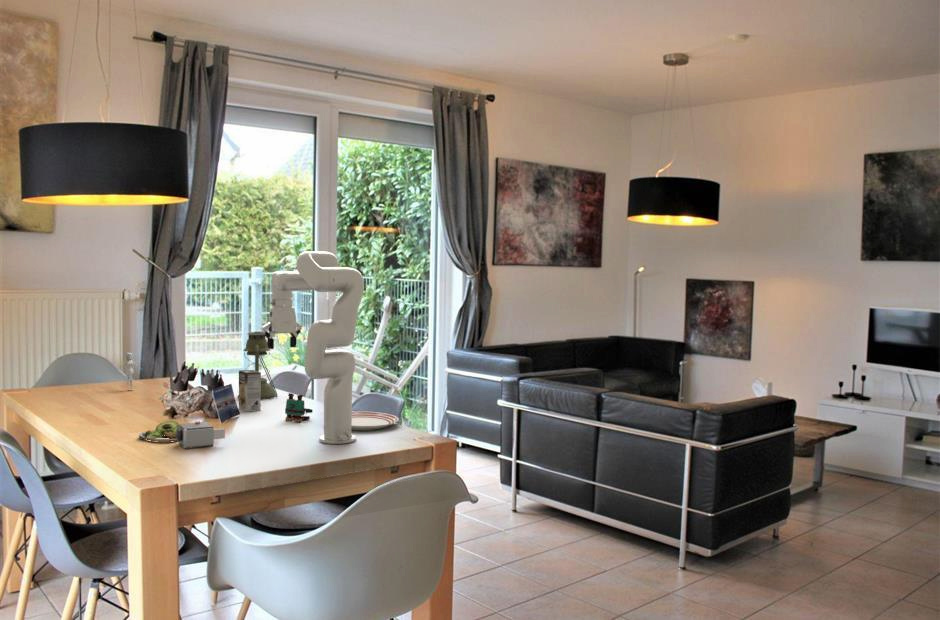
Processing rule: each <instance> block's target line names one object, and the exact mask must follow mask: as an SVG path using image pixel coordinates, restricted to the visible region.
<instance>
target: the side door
mask: <svg viewBox="0 0 940 620" xmlns="http://www.w3.org/2000/svg"><path fill="white" fill-rule="evenodd" d="M225 438H226V428H224V427H223V428H214V427H213V428H206V429H195V430H187V429H184V447H183V449H185V448H186V449H188V448H187V447H193V446H203V445H213V446H214V444H215V440H220V439H221V440H222V439H225Z"/></svg>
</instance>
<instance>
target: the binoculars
mask: <svg viewBox="0 0 940 620" xmlns="http://www.w3.org/2000/svg"><path fill="white" fill-rule="evenodd" d="M287 394H288V395H287V396H288V398H286V402H285V403H286V405H285V409H284V411H285V412H284V413H285V415H286V417H285V421H286V422H287V421H292V420H293V419H294V422H295V423H300V422H302V421H303V420H310V417H311V416H309V415H308V416H307V415H306V414H310V413H311V414H312V413H313V411H314V410H313V409H311V408H305V400H303V396H304V395H303V394H298V395H297V396H296V397H297V399H294V396H295V395H294V394H293V393H289V392H288V393H287Z"/></svg>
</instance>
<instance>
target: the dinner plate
mask: <svg viewBox="0 0 940 620" xmlns="http://www.w3.org/2000/svg"><path fill="white" fill-rule="evenodd" d="M399 421H400V419H399V417H398V416H397V415H392V414H389V413H385V412H379V411H377V412H376V411H352V431H375V430H380V429H383V428H386V427H388V426H391V425H394V424H396V423H398V422H399Z"/></svg>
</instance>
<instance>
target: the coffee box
mask: <svg viewBox="0 0 940 620" xmlns="http://www.w3.org/2000/svg"><path fill="white" fill-rule="evenodd" d="M261 378H262V372H261V371H259V372H258V371H255V369H242V370H238V395H239V398H238V409H240V410H242V411H244V412H256V411H257V412H258V411H261V409H262V408H261V404H262V403H261V402H262V400H261Z"/></svg>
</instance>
